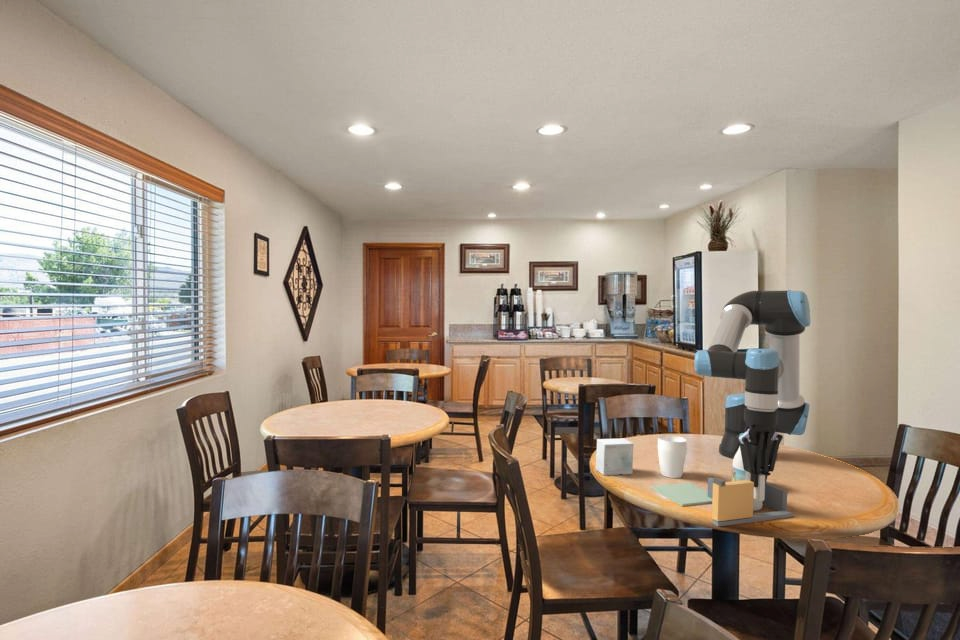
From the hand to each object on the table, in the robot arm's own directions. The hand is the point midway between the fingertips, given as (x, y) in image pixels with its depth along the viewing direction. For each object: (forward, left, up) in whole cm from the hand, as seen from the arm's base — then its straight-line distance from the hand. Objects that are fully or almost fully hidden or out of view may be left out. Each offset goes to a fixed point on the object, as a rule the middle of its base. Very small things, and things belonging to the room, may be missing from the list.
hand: (757, 498), depth 128 cm
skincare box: (+16, -42, -6) cm, 46 cm away
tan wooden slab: (+8, 0, -4) cm, 9 cm away
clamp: (+1, -7, -6) cm, 9 cm away
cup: (-1, -35, -6) cm, 36 cm away
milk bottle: (-5, -8, -6) cm, 11 cm away
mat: (+6, -19, -6) cm, 21 cm away
